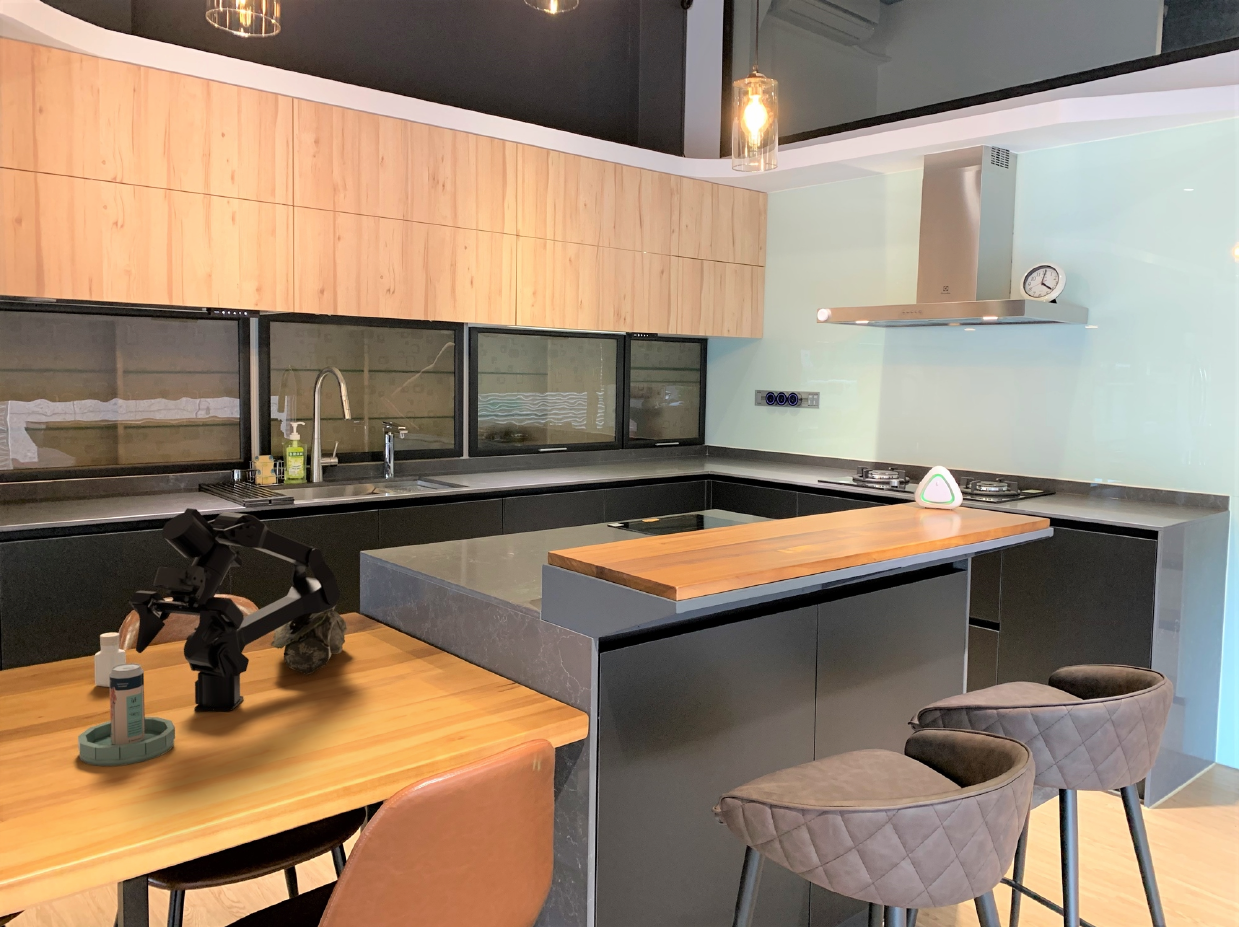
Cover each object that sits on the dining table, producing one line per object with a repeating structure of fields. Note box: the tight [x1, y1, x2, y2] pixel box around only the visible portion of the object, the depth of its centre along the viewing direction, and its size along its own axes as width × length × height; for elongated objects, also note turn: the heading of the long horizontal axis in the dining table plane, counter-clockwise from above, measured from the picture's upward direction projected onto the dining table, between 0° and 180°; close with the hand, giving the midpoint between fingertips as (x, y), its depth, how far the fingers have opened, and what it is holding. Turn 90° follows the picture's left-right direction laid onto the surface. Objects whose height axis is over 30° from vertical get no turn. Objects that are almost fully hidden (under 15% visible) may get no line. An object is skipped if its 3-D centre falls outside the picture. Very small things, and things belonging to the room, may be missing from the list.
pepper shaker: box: [94, 632, 127, 688], centre depth 175 cm, size 4×4×10 cm
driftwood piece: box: [269, 606, 348, 675], centre depth 192 cm, size 28×13×15 cm
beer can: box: [109, 662, 146, 745], centre depth 145 cm, size 5×5×12 cm
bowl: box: [77, 716, 176, 767], centre depth 145 cm, size 13×13×3 cm
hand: (162, 654), depth 151 cm, fingers open, 9 cm apart
